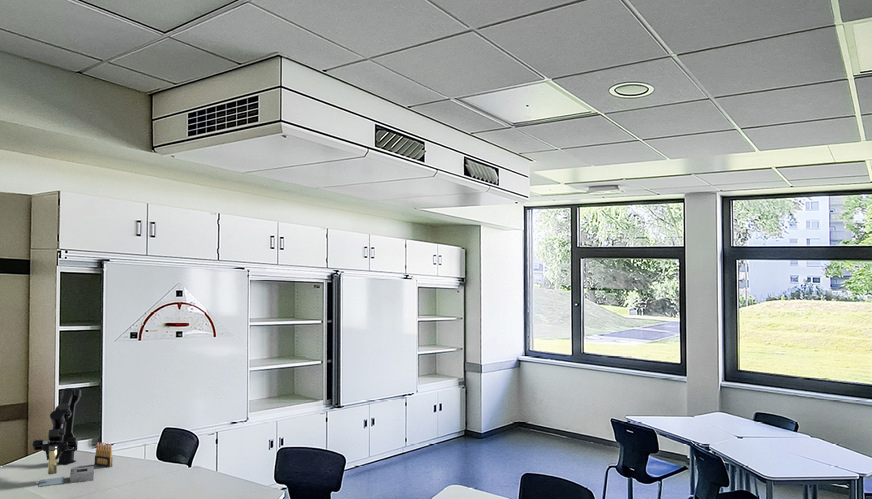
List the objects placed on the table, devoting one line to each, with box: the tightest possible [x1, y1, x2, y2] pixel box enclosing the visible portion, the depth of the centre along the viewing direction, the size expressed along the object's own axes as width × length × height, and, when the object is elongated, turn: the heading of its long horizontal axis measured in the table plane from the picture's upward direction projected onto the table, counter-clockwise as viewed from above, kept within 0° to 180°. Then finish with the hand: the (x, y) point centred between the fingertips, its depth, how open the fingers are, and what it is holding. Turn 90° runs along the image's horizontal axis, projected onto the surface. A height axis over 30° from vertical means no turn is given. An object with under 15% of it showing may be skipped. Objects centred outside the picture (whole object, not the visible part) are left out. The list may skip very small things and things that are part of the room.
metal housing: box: [69, 465, 95, 484], centre depth 311 cm, size 10×10×4 cm
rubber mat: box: [38, 476, 65, 488], centre depth 305 cm, size 10×10×1 cm
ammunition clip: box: [93, 441, 113, 468], centre depth 332 cm, size 11×2×12 cm, turn 70°
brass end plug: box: [47, 445, 58, 476], centre depth 305 cm, size 4×4×13 cm
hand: (52, 459), depth 304 cm, fingers closed on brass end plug, 4 cm apart
